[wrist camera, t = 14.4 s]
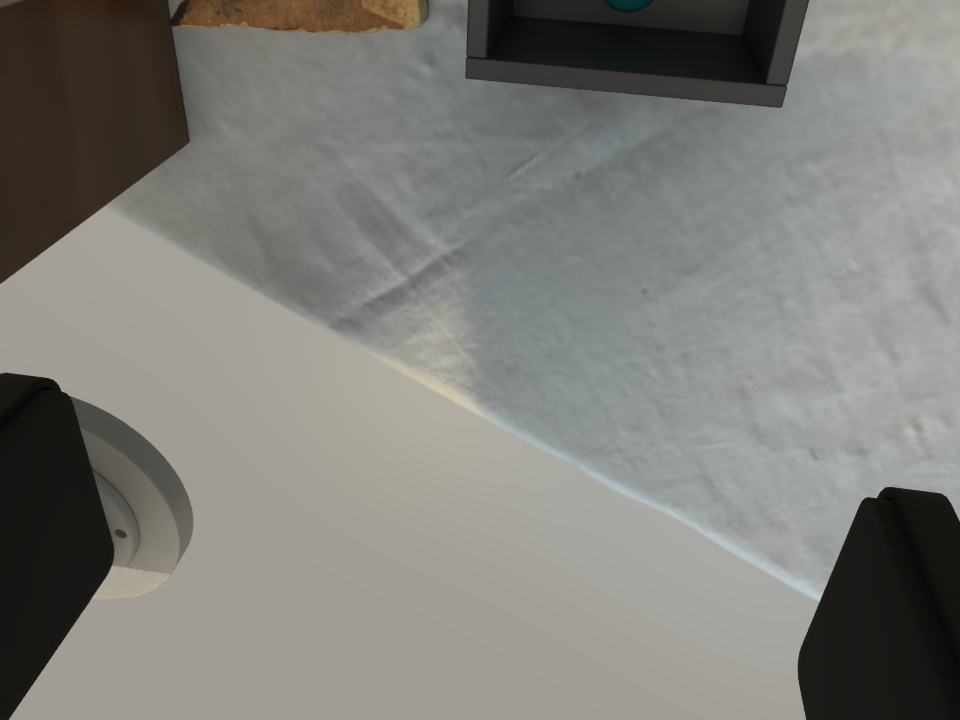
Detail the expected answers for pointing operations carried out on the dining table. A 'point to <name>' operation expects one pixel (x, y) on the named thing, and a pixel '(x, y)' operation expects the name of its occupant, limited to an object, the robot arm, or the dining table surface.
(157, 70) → the stand
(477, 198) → the dining table surface
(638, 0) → the rod
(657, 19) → the bin
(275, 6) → the shard
